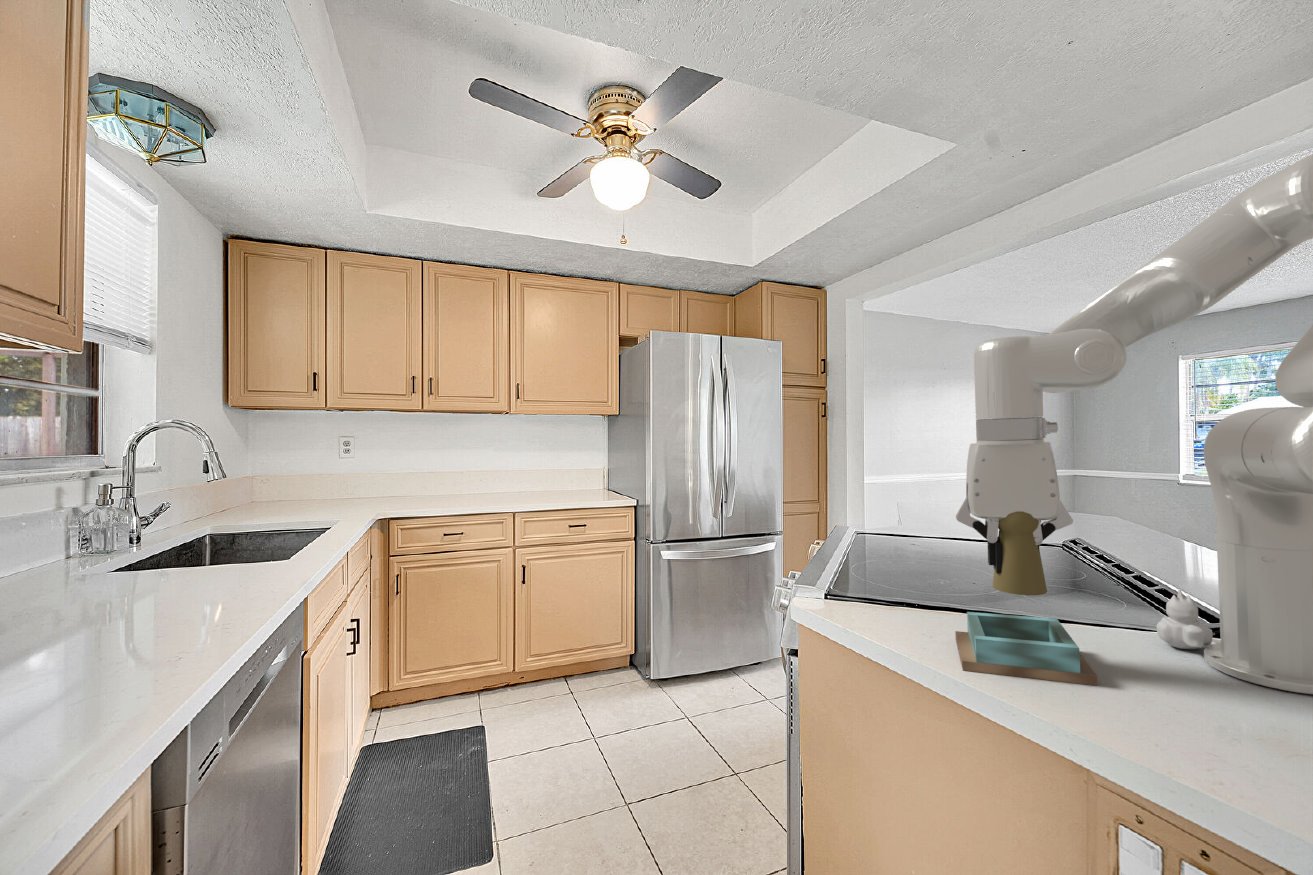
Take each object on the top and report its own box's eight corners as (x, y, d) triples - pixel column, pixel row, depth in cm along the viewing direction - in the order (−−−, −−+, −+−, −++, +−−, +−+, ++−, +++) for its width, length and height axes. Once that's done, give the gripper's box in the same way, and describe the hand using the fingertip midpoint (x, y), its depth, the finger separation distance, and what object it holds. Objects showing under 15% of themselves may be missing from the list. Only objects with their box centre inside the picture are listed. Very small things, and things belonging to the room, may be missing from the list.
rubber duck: (1197, 641, 77) (1194, 583, 77) (1226, 661, 70) (1224, 598, 70) (1148, 638, 79) (1145, 582, 78) (1173, 657, 72) (1170, 595, 72)
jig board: (1072, 650, 76) (1070, 619, 76) (1097, 685, 66) (1096, 650, 66) (955, 639, 82) (954, 610, 82) (962, 670, 72) (961, 637, 71)
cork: (1036, 583, 75) (1034, 501, 75) (1055, 596, 70) (1052, 508, 70) (986, 581, 77) (983, 502, 77) (1000, 594, 71) (997, 508, 71)
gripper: (1076, 429, 73) (1081, 569, 74) (938, 434, 80) (942, 561, 80) (1094, 431, 67) (1099, 584, 67) (941, 435, 73) (946, 575, 73)
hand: (1013, 570), depth 74 cm, fingers closed on cork, 2 cm apart
